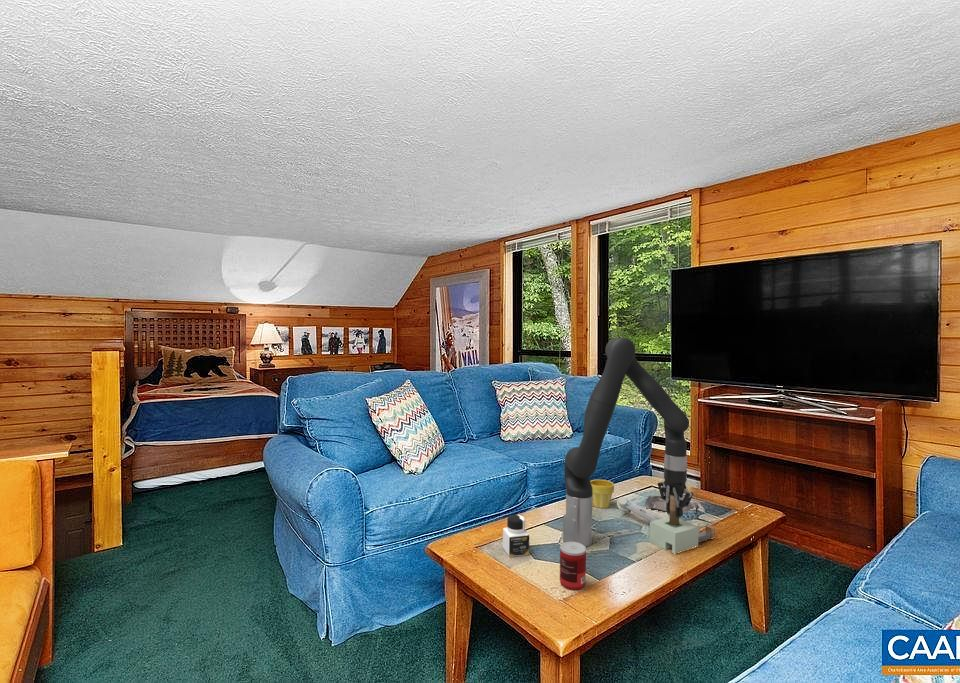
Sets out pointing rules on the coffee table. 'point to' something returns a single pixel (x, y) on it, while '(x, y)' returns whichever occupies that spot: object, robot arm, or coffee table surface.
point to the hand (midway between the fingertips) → (674, 514)
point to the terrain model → (663, 504)
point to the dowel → (673, 512)
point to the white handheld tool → (636, 509)
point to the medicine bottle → (515, 537)
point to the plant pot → (602, 493)
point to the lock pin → (707, 533)
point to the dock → (673, 534)
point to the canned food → (572, 565)
